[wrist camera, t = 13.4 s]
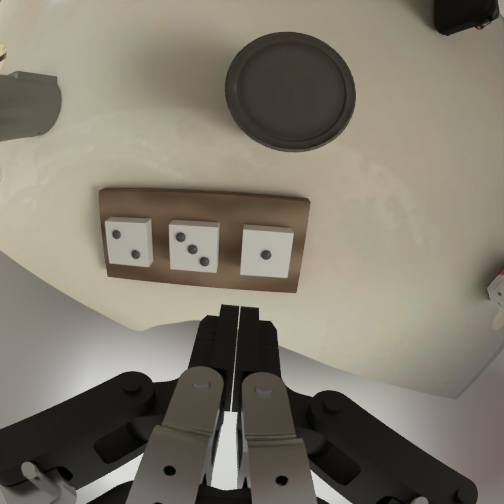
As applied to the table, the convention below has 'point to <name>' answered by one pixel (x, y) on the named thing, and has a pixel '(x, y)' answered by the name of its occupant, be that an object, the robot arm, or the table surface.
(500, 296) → the ink box
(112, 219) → the tile two
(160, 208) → the tile board
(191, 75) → the table surface
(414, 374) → the table surface
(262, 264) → the tile one
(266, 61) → the coffee can
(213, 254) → the tile three
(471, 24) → the carrying case or bag
